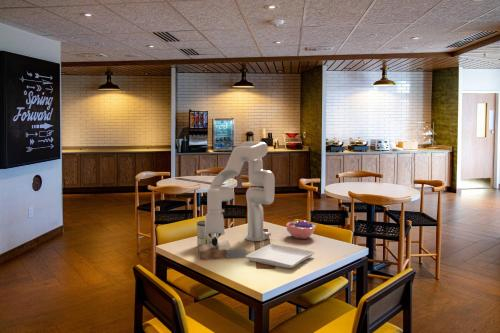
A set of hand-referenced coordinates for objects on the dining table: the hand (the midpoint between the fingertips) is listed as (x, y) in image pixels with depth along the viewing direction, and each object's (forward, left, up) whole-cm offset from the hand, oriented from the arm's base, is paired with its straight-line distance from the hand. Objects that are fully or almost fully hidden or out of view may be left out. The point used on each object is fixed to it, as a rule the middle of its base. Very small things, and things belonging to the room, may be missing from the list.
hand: (214, 245), depth 229 cm
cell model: (-56, -26, -5) cm, 62 cm away
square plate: (-33, +13, -6) cm, 36 cm away
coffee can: (+3, -17, -5) cm, 18 cm away
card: (-5, 0, -1) cm, 5 cm away
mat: (-12, 0, -5) cm, 13 cm away
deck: (+1, 0, -5) cm, 5 cm away
